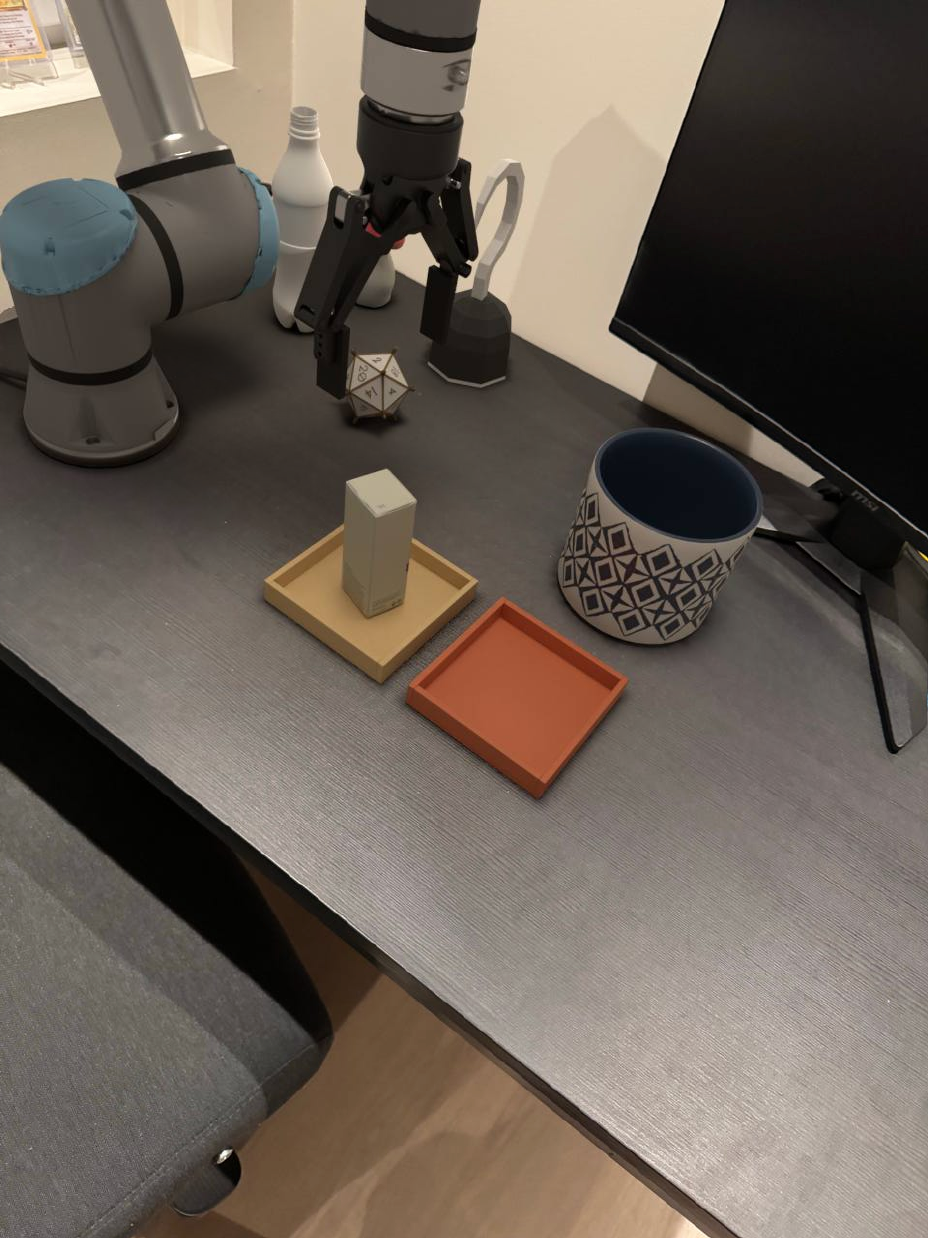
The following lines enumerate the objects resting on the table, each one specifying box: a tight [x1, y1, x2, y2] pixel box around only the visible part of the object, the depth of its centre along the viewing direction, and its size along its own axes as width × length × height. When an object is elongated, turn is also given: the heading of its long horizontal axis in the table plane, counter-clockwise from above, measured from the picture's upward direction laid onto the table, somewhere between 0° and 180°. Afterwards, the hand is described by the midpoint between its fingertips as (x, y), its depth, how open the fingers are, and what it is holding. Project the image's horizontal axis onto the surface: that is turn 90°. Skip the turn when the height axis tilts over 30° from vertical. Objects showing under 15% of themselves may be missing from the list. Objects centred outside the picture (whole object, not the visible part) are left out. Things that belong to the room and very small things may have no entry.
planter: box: [557, 427, 764, 645], centre depth 82 cm, size 16×16×14 cm
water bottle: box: [270, 105, 335, 333], centre depth 100 cm, size 7×7×25 cm
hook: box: [427, 158, 526, 389], centre depth 100 cm, size 11×11×25 cm
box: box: [342, 468, 418, 618], centre depth 75 cm, size 5×4×13 cm
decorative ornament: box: [355, 223, 406, 308], centre depth 111 cm, size 9×6×15 cm
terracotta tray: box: [405, 596, 630, 800], centre depth 75 cm, size 14×14×3 cm
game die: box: [345, 345, 418, 425], centre depth 96 cm, size 9×8×10 cm
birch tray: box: [263, 523, 479, 684], centre depth 80 cm, size 14×14×3 cm
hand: (384, 363), depth 76 cm, fingers open, 13 cm apart
